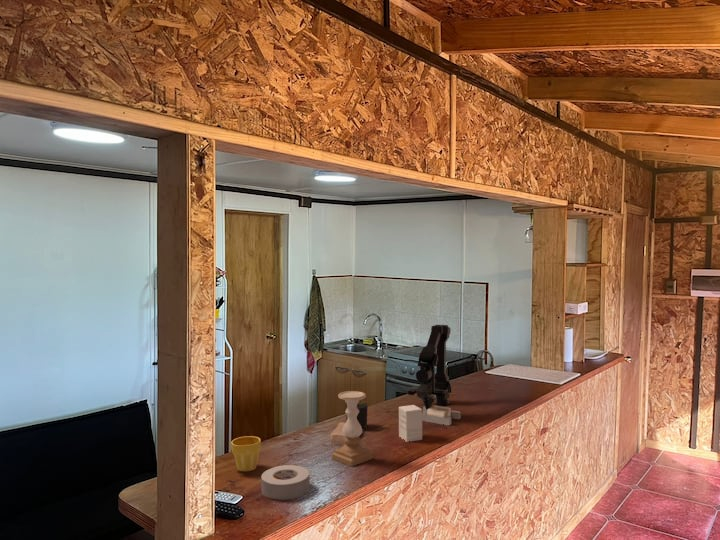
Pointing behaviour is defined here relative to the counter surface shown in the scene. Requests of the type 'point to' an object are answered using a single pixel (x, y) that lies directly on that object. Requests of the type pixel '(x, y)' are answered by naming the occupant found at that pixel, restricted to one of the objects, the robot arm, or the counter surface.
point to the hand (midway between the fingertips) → (428, 411)
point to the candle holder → (352, 433)
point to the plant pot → (246, 452)
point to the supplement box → (410, 423)
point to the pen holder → (361, 415)
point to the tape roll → (285, 482)
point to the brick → (338, 435)
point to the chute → (440, 417)
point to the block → (439, 411)
